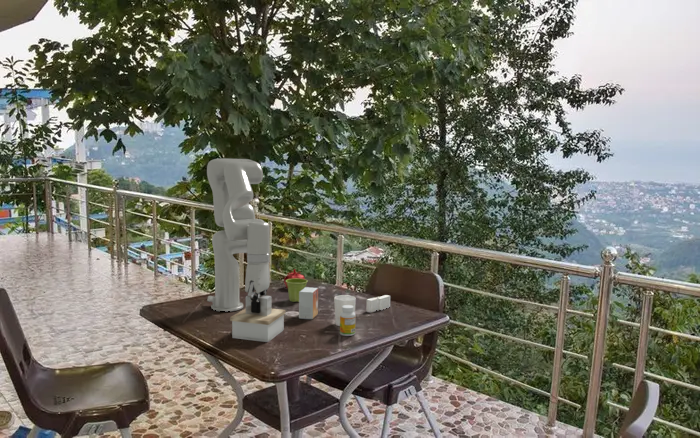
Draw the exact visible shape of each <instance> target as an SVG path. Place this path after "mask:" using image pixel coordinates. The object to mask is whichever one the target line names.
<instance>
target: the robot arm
mask: <svg viewBox="0 0 700 438" xmlns="http://www.w3.org/2000/svg"><path fill="white" fill-rule="evenodd" d="M263 171H264V170H263V168H262V166H261V165H260V163H259V162H257V161H255V160H252V159H248V158H214V159H212V160H210V161H208V163H207V165H206V176H207V180H208V183H209V185H210V188H211V191H212V197H213V198H212V199H213V200H212V201H213V216H214V221H215V224H216V226H219V227H220V228H221V227H222V228H224V230H219V231H217V232H215V233H214V234H213V236H212V238H211V243H212V249H213V255H214V257H213V258H214V293H215V294H214V295H208V296H207V300H206V301H207V302H210V303H212V304H211V306H210V307H211V310H212V309H213V310H212V311H215V310H216V311H215V312H220V311H225V312H226V313H227V312H228V311H230V312H235V311H239V310H240V311H241V309H242V310H243V308H244V303H243V302H241V301H240V264H239V262H238V260H237V259H236V258H235V256H234V255H236V254H246V255H247V256H246V257H247V258H246V261H247V262H246V263H247V265H246V270H245V279H244V280H245V281H244V283H245V284H244V289H245V292H246V293H247V296H248V297H250V301H251V312H252V313H260V301H259V298H260V295H264V296H267V292H268V289H269V287H270V284H271V283H270V281H271V280H270V279H271V276H270V275H271V273H270V272H271V271H270V262H271V255H270V251H271V249H270V242H271V239H270V238H271V236H270V234H271V232H270V231H271V230H270V229H271V227H270V224H269V223H268V222H266V221H265V220H263V219H261V218H256V215H255V214H256V213H255V210H254V207H253V205H252V204H250V202H252V200H253V199H254V192H253V188H252V185H258V184H260V183H261V182H262V181H263V178H264V173H263ZM256 295H257V297H256ZM225 312H224V313H225ZM228 313H229V312H228Z"/></svg>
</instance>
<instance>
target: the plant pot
mask: <svg viewBox="0 0 700 438" xmlns="http://www.w3.org/2000/svg"><path fill="white" fill-rule="evenodd" d="M308 281H309V280H307V279H306V278H305V279H299V278H294V279H287V280H286V282H287V286H288V288H287V291H288V292H287V293H288V299H289V301H290V302H293V303H294V302H298V303H299V292H300V291H301V290H302V289H304V288H305V287H307V283H308Z"/></svg>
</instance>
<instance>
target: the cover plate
mask: <svg viewBox="0 0 700 438" xmlns="http://www.w3.org/2000/svg"><path fill="white" fill-rule="evenodd" d="M255 295H256V297H257V294H255ZM259 301H260V313H252V312H251V301H250V297H248V295H246V296H245V308H244V309H242V310H240V311H238V312H237V313H235V314H233V315H231V316H229V321H230V322H232V321H237V322H246V323H255V324H264V325H269V324H271V323H272V322H274V321H275V320H277V319H278V318H279V317H281V316H282V315H285V314H286V312H287V311H286V309H282V308H281V309H280V308H279V309H278V308H272V295H266V296H264V295H260V298H259Z"/></svg>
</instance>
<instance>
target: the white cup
mask: <svg viewBox="0 0 700 438" xmlns="http://www.w3.org/2000/svg"><path fill="white" fill-rule="evenodd" d="M333 299H334V302H333V303H334V319H335V320H334V321H335V322H334V323H335V325H336V326H338V327H340V313H341V312H343V311H342V306H344V305H352V306H354V311H353V312H354V313H355V314H356V302H357V299H356V296H354V295H348V294H341V295H336V296H334V298H333Z"/></svg>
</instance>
